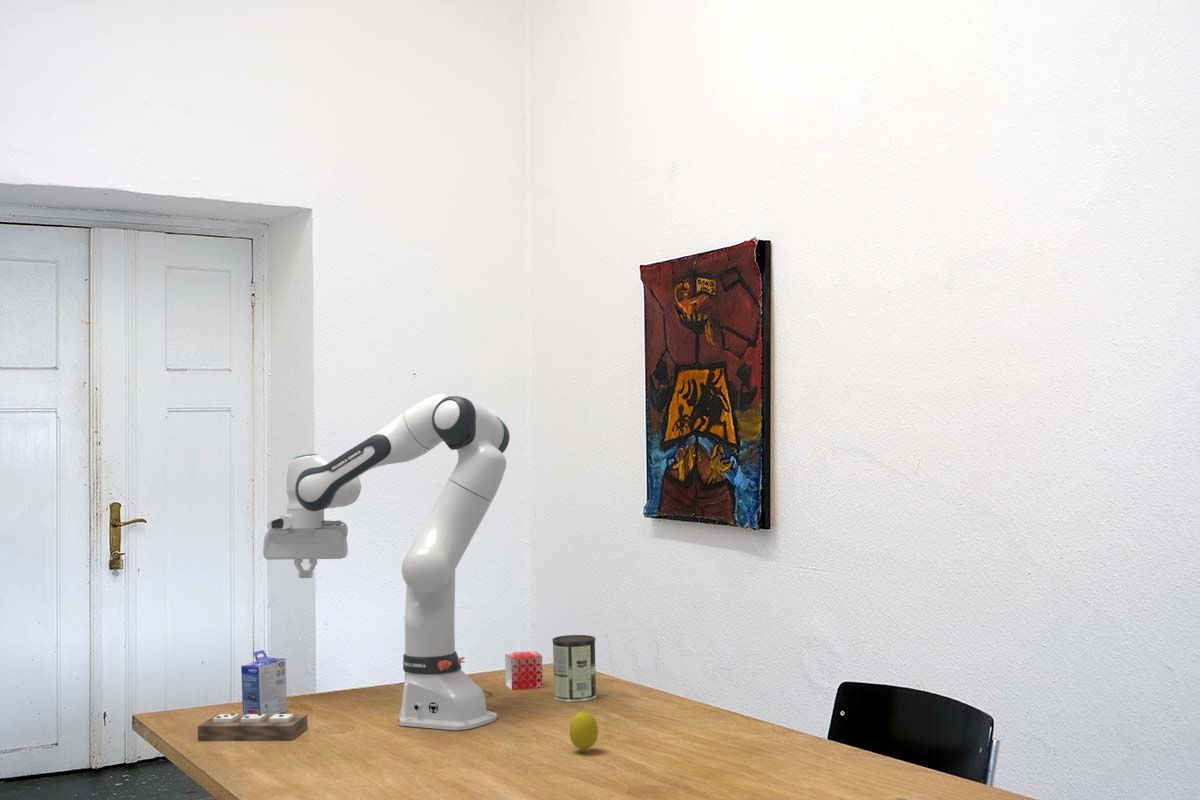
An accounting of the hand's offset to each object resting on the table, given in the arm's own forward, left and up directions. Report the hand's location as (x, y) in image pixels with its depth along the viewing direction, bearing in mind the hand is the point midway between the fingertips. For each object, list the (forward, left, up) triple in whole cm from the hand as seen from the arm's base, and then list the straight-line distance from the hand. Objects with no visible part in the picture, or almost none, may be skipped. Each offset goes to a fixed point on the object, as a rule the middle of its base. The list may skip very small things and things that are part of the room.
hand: (305, 577), depth 272 cm
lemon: (-86, +7, -29) cm, 91 cm away
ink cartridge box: (-5, +17, -29) cm, 34 cm away
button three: (-12, +33, -28) cm, 45 cm away
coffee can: (-57, -32, -29) cm, 72 cm away
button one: (-22, +27, -28) cm, 45 cm away
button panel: (-17, +30, -29) cm, 45 cm away
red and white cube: (-38, -37, -29) cm, 61 cm away
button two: (-17, +30, -28) cm, 44 cm away
